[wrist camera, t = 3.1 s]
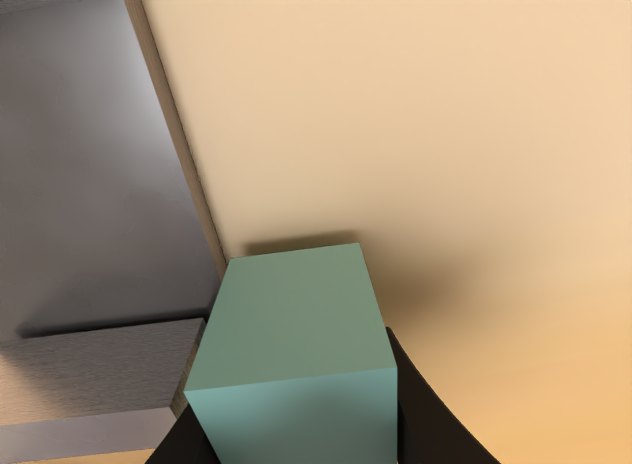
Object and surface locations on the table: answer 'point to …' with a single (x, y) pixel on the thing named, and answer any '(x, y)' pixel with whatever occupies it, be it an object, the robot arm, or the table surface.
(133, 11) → the vise
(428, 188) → the table surface
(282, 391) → the block
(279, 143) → the table surface
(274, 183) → the table surface
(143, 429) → the jaw
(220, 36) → the table surface
